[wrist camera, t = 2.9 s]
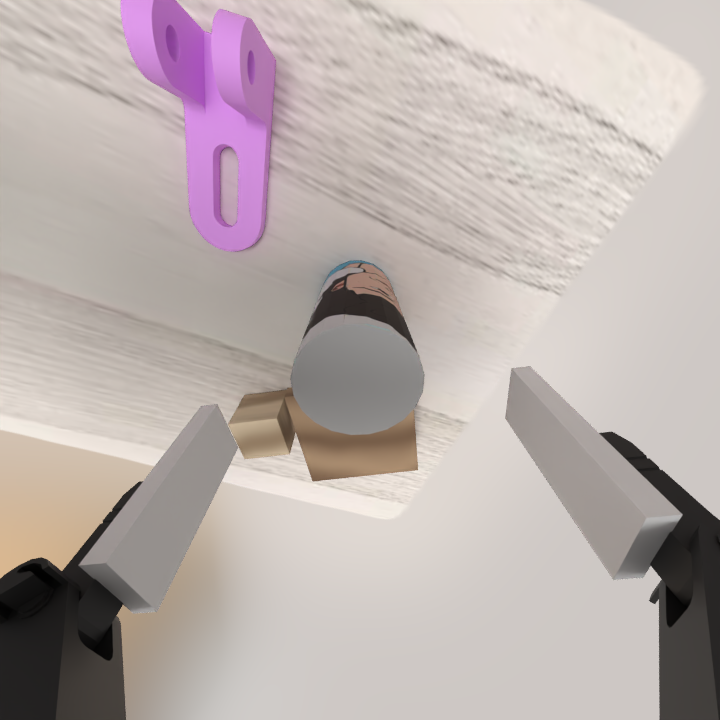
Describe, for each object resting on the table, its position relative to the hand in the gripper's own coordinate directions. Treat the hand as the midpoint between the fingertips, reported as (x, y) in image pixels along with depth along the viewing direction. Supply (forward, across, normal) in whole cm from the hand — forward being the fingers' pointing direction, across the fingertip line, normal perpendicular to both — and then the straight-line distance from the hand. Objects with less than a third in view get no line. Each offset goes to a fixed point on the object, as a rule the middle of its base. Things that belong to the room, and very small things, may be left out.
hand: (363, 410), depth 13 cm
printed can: (+17, 0, 0) cm, 17 cm away
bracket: (+17, -8, +12) cm, 23 cm away
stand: (+17, -2, -13) cm, 21 cm away
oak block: (+17, -12, -12) cm, 24 cm away
